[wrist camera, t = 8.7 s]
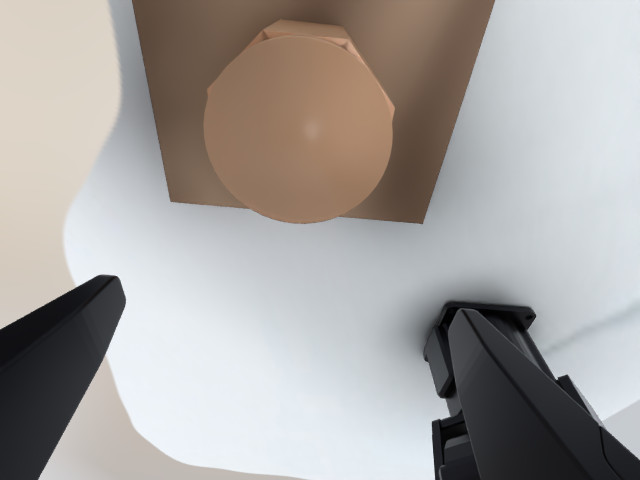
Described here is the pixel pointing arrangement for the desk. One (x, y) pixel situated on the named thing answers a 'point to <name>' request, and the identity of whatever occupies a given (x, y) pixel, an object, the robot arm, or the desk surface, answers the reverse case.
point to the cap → (299, 124)
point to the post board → (373, 43)
